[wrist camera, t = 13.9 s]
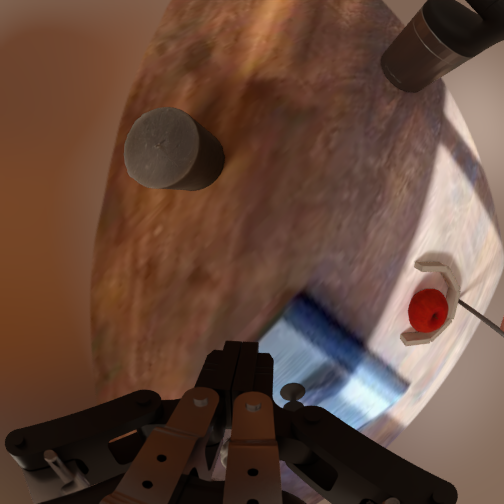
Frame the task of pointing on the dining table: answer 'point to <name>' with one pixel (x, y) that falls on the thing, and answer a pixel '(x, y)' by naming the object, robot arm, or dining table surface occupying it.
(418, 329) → the apple
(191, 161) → the pillar candle
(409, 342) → the cup
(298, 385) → the sundae
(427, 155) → the dining table surface
